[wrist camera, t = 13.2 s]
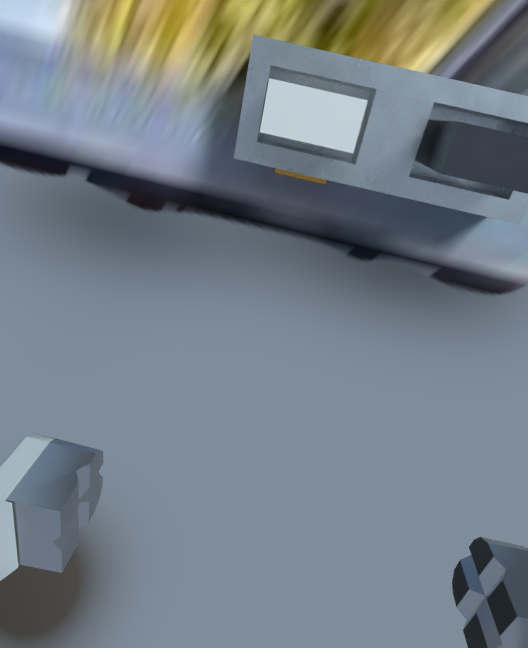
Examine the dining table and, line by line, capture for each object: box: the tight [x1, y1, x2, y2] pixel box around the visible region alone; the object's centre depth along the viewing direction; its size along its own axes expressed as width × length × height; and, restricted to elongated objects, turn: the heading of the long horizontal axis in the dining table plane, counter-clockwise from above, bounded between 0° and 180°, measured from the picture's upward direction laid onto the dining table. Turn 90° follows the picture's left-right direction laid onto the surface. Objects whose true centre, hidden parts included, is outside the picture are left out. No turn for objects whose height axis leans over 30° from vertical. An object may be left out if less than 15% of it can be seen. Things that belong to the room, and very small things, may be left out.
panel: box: [260, 78, 368, 153], centre depth 31 cm, size 6×3×9 cm, turn 79°
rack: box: [234, 35, 528, 224], centre depth 31 cm, size 22×8×10 cm, turn 79°
